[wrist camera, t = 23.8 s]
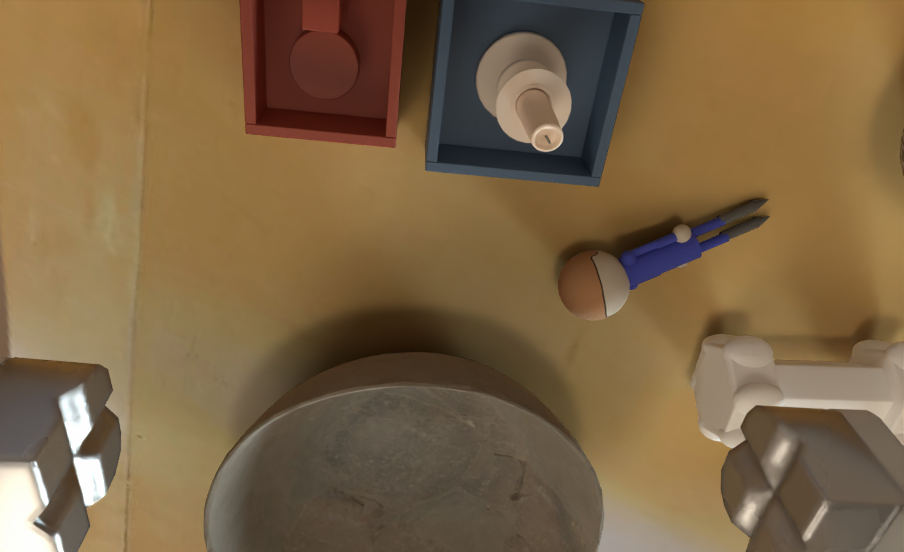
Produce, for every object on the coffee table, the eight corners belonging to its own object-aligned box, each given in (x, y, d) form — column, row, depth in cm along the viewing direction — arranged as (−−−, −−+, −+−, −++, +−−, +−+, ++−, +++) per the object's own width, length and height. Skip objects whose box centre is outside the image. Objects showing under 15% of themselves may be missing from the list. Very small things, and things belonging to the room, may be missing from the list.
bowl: (286, 562, 62) (264, 674, 54) (186, 324, 48) (136, 425, 39) (582, 529, 61) (608, 637, 53) (573, 275, 47) (607, 368, 38)
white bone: (677, 396, 53) (715, 476, 46) (707, 306, 49) (754, 380, 42) (857, 401, 54) (921, 480, 48) (903, 314, 50) (981, 387, 43)
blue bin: (443, -32, 36) (445, -21, 33) (626, -10, 37) (645, 2, 34) (425, 148, 42) (425, 171, 38) (586, 163, 42) (598, 187, 39)
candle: (555, 125, 40) (593, 201, 32) (469, 116, 40) (483, 190, 31) (574, 35, 38) (620, 91, 29) (482, 25, 37) (501, 77, 28)
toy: (754, 164, 44) (542, 253, 44) (798, 209, 41) (570, 305, 41) (749, 210, 48) (553, 293, 48) (789, 256, 45) (579, 343, 45)
